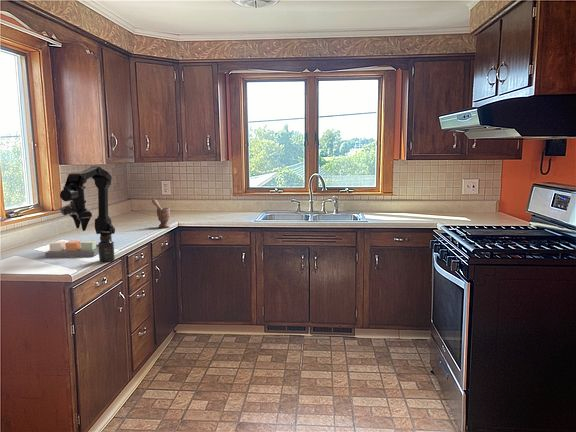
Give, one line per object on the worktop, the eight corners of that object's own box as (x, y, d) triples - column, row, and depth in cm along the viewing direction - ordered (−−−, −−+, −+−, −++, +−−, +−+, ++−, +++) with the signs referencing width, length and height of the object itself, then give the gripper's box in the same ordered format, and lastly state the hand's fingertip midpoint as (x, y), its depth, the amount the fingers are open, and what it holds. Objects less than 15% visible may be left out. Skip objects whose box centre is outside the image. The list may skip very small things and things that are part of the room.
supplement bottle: (116, 258, 214) (115, 234, 212) (111, 262, 207) (110, 237, 205) (102, 259, 214) (100, 234, 212) (96, 262, 207) (95, 237, 205)
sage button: (85, 248, 225) (84, 240, 225) (96, 248, 226) (95, 240, 225) (81, 250, 220) (80, 242, 219) (92, 250, 220) (92, 242, 220)
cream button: (54, 249, 224) (54, 241, 223) (65, 248, 224) (65, 241, 224) (49, 251, 219) (49, 243, 218) (61, 251, 219) (60, 243, 218)
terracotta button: (70, 248, 225) (69, 241, 224) (81, 248, 225) (80, 240, 224) (65, 251, 219) (65, 243, 219) (77, 250, 220) (76, 243, 219)
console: (54, 252, 226) (53, 248, 226) (100, 251, 228) (100, 247, 228) (45, 257, 217) (45, 252, 216) (94, 256, 219) (93, 251, 218)
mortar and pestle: (161, 229, 292) (160, 199, 289) (151, 228, 296) (150, 199, 293) (173, 227, 302) (172, 197, 299) (163, 226, 306) (162, 197, 303)
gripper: (55, 198, 220) (57, 229, 223) (66, 202, 207) (69, 234, 209) (78, 196, 228) (81, 226, 230) (91, 199, 214) (93, 231, 217)
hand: (80, 229), depth 221 cm, fingers open, 9 cm apart
